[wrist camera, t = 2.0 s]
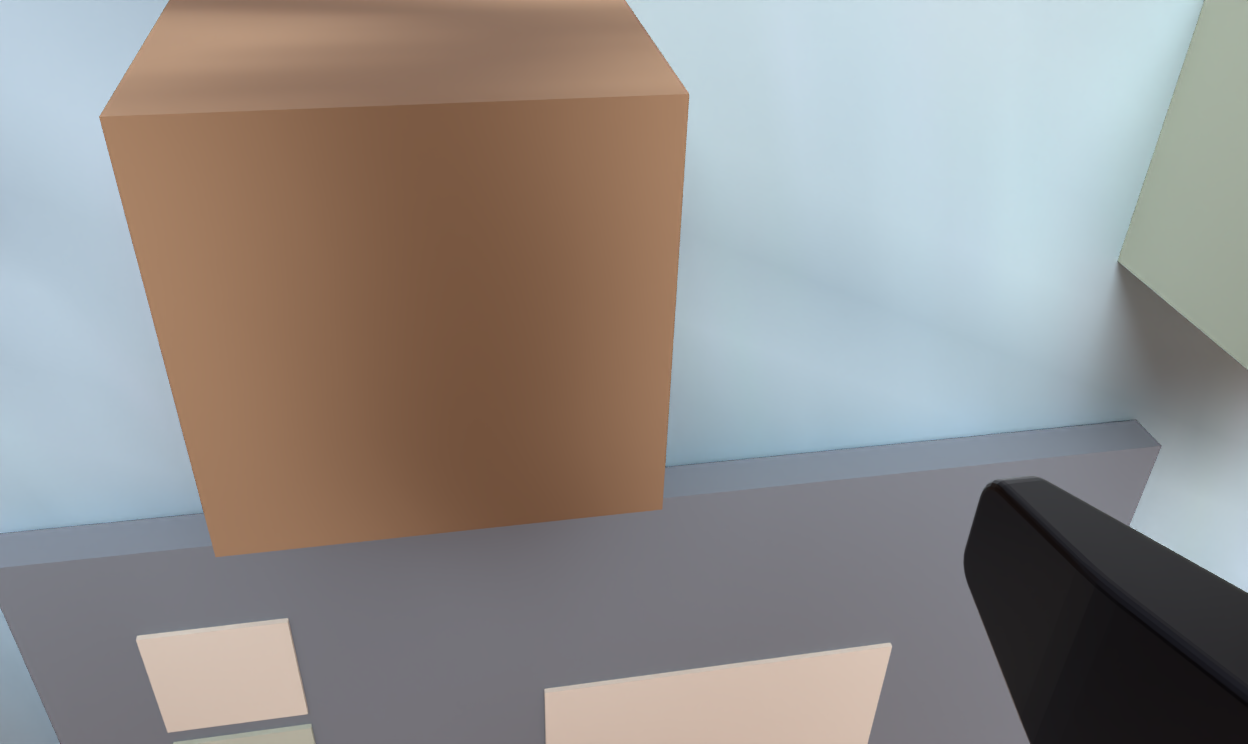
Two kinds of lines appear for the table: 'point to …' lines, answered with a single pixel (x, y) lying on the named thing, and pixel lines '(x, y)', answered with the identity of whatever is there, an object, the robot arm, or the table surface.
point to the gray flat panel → (566, 613)
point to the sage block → (1201, 186)
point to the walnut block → (407, 259)
